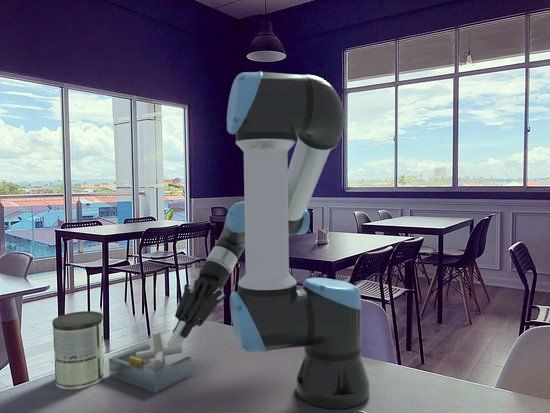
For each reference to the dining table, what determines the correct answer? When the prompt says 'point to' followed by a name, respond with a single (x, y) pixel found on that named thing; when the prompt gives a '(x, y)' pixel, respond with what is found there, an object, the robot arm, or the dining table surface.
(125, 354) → the jig
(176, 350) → the pipe connector
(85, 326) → the coffee can
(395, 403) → the dining table surface
